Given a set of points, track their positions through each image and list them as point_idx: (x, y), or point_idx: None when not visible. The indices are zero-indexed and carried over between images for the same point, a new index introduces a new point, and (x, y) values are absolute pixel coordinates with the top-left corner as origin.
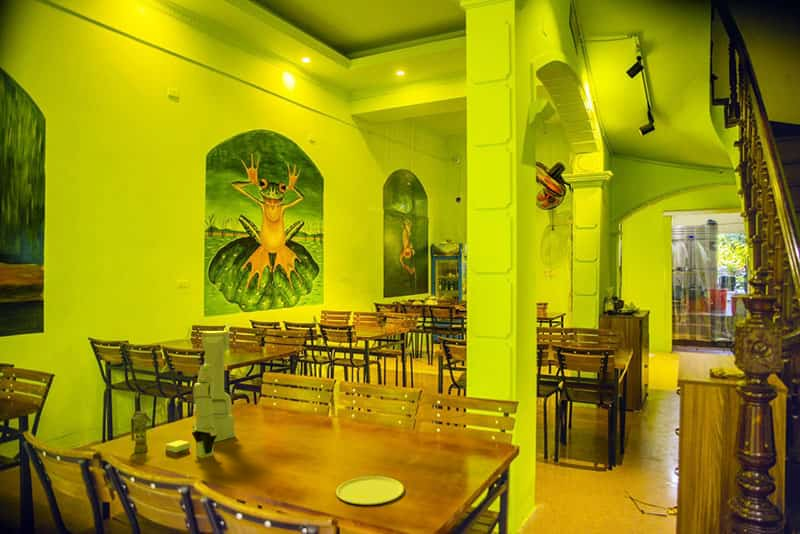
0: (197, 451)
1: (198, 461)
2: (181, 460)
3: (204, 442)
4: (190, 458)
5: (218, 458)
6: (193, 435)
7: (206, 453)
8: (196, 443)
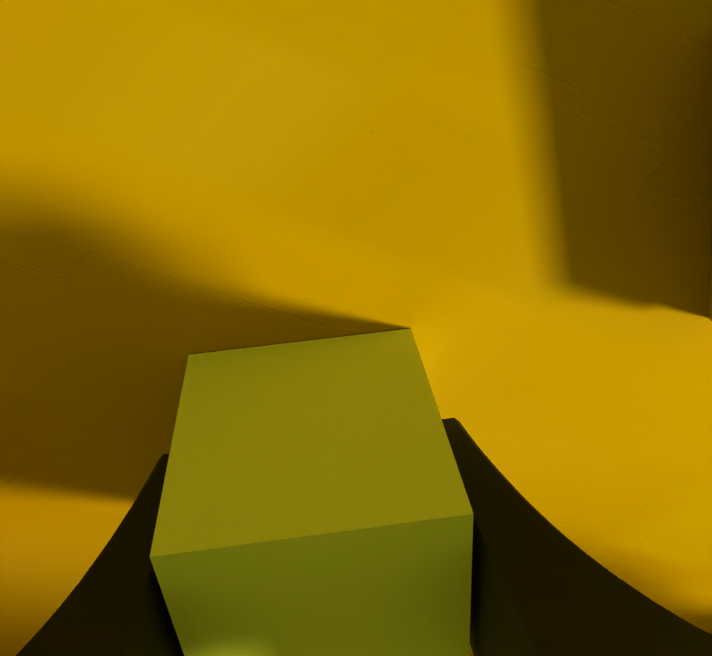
0: (372, 387)
1: (53, 255)
2: (366, 14)
3: (47, 651)
4: (346, 206)
5: (13, 518)
6: (664, 638)
7: (159, 463)
8: (439, 497)
